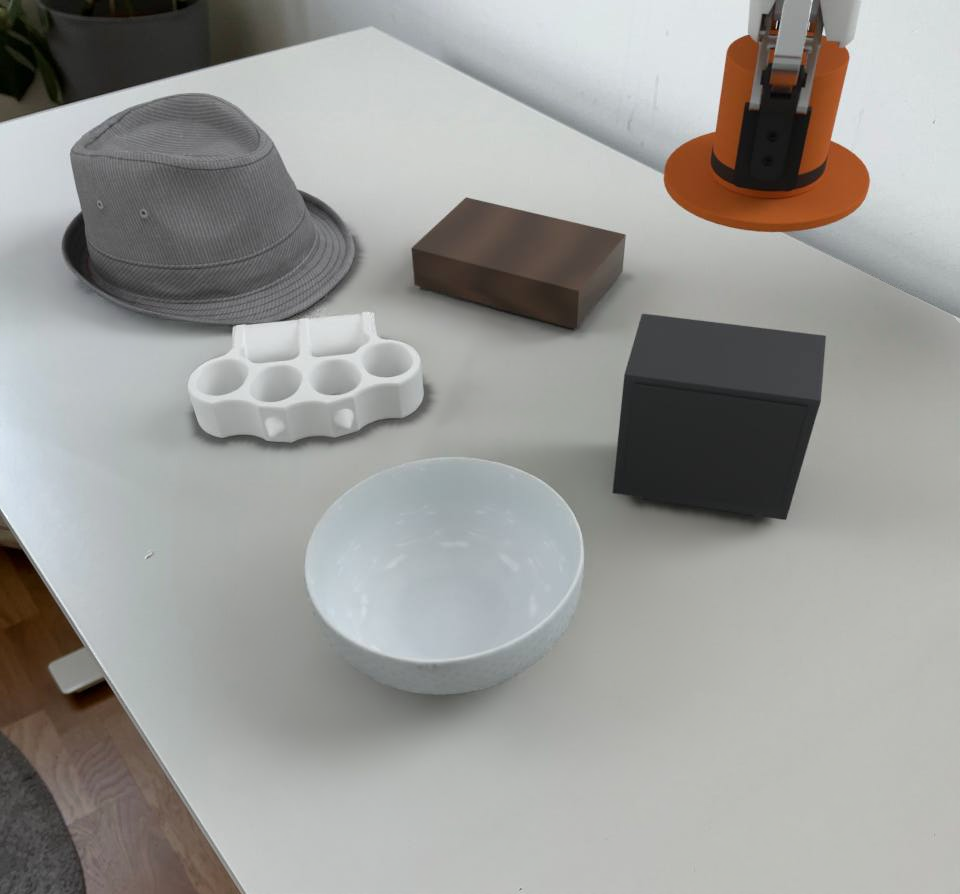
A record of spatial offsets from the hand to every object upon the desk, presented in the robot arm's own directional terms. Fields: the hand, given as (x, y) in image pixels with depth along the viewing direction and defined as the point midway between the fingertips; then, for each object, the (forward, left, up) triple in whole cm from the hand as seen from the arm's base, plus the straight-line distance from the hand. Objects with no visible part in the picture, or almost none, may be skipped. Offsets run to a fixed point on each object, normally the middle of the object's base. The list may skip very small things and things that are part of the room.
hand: (769, 153), depth 53 cm
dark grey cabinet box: (0, 0, -24) cm, 24 cm away
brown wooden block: (+4, -30, -24) cm, 38 cm away
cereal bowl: (+21, +7, -24) cm, 33 cm away
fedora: (+30, -44, -24) cm, 58 cm away
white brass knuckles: (+25, -20, -24) cm, 40 cm away
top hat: (0, 0, -1) cm, 1 cm away
